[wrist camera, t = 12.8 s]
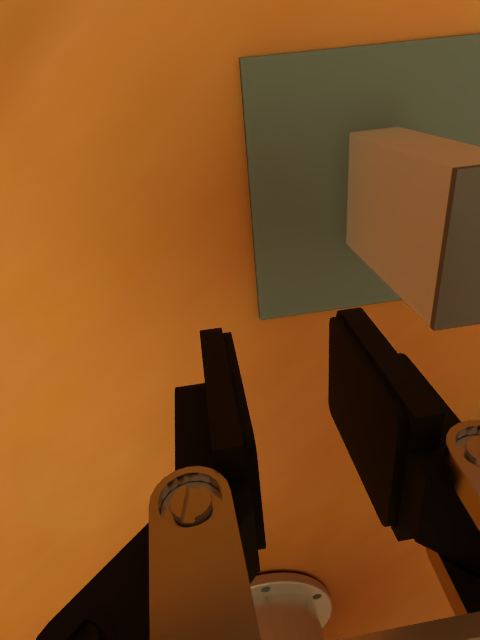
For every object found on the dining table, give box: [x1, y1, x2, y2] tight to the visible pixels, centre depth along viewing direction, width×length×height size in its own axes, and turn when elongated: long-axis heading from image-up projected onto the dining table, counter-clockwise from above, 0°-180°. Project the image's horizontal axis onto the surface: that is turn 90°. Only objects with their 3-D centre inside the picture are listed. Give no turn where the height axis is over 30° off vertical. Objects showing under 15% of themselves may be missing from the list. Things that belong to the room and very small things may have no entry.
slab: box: [346, 127, 480, 331], centre depth 20 cm, size 6×3×10 cm, turn 5°
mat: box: [239, 34, 480, 320], centre depth 25 cm, size 14×17×1 cm
